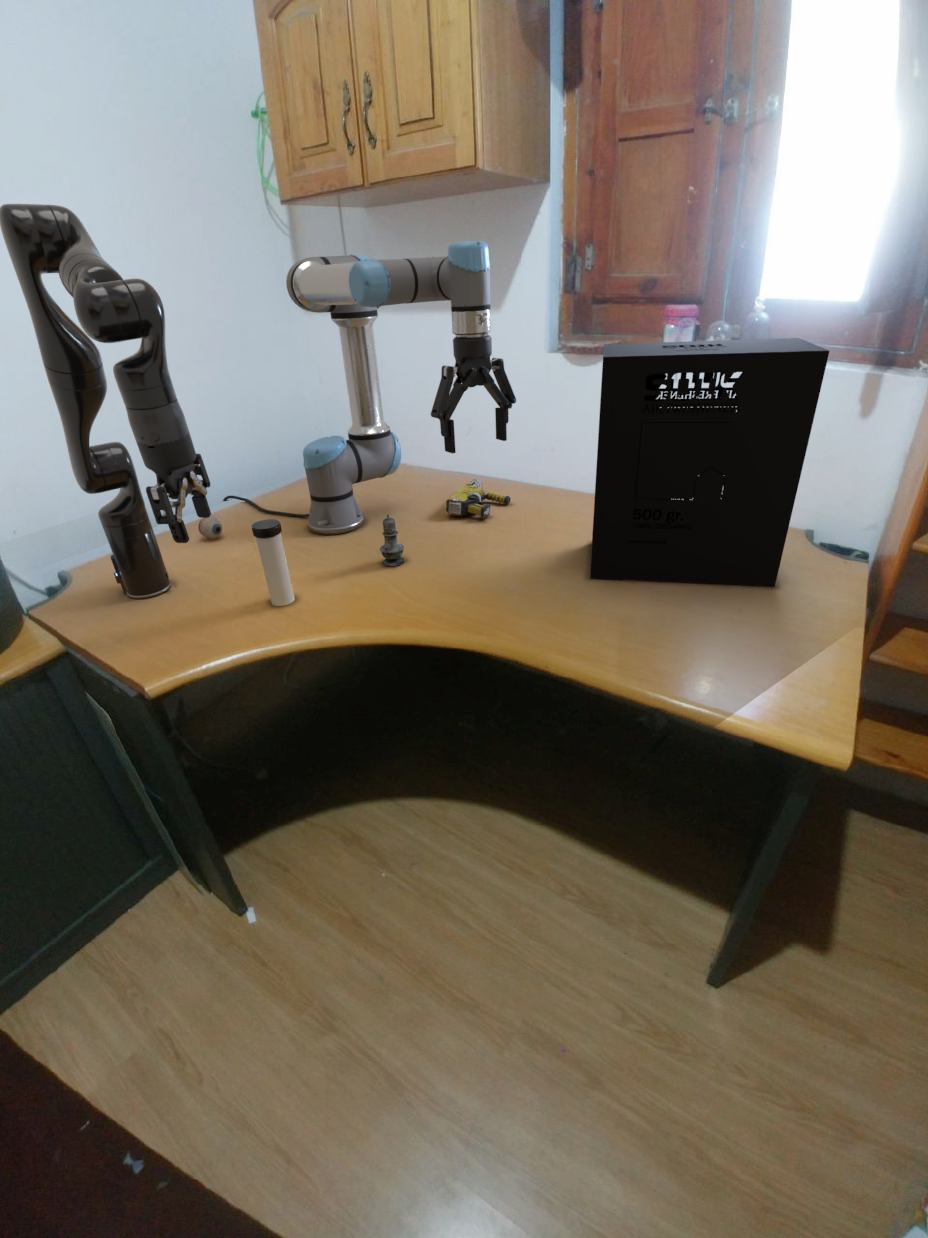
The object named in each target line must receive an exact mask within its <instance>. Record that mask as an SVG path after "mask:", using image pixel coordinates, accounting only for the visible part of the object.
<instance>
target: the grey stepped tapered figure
mask: <svg viewBox="0 0 928 1238" xmlns="http://www.w3.org/2000/svg"><path fill="white" fill-rule="evenodd" d="M382 528H383V529H382V530H383V532H382V536H383V538H384V544H383V545H381V546H380V547H379V551H380V553H381V555H382V557H383V558H384V559H383V560H382V564H383V565H384V566H386V567H396V566H400V565H402V564H404V562H405V558H404V557H402V555H403V553H404V550H405V546H404V544H402V543H400V542H399V541H398V534H399V532H398V531H397V527H396V521H395V519H394V518H393V517H390V515H389V514H386V517H385V518H383V520H382Z"/></svg>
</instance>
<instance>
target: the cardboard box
mask: <svg viewBox="0 0 928 1238" xmlns="http://www.w3.org/2000/svg"><path fill="white" fill-rule="evenodd" d="M829 356H830V350H829V349H827V348H824V347H822V346H819V345H817V344H815V343H813V342H809V341H808V340H804V339H802V338H799V337H787V338H786V337H785V338H756V339H755V338H753V339H751V338H750V339H724V340H691V341H689V340H688V341H661V342H631V343H604V344H603V353H602V368H601V385H600V386H601V387H600V399H599V400H600V402H599V416H598V417H599V419H598V434H597V436H598V437H597V452H596V467H595V468H596V470H595V487H594V502H593V503H594V504H593V521H592V535H591V536H592V538H591V554H590V569H589V571H590V572H589V578H590V579H600V580H625V581H647V582H665V583H666V582H667V583H668V582H669V583H688V584H689V583H691V584H692V583H693V584H714V585H735V586H755V587H756V586H757V587H759V586H760V587H776V583H777V579H778V575H779V572H780V571H779V570H780V566H781V562H782V557H783V553H784V549H785V545H786V541H787V536H788V532H789V528H790V523H791V519H792V514H793V510H794V506H795V502H796V497H797V493H798V489H799V485H800V480H801V475H802V473H803V472H802V471H803V467H804V464H805V457H806V454H807V449H808V446H809V441H810V437H811V433H812V428H813V425H814V419H815V415H816V411H817V407H818V403H819V398H820V395H821V390H822V385H823V381H824V376H825V373H826V368H827V363H828V360H829ZM735 373H740V374H739V376H738V377H733V375H734V374H735ZM676 374H680V378H678V381H677V387H674V386H675V385H674V384H675V378H673V377H674V375H676ZM687 374H692V378H691V384H694V385H693V387H689V385H690V378H687ZM701 374H703V378H700V376H701ZM718 374H719V378H718ZM722 377H723V382H722ZM717 379H718V383H717ZM722 383H723V384H727V383H729V384H731V383H733V384H732V387H731V386H730V387H726V386H725V387H724V386H723V385H722ZM703 384H708V387H702V385H703ZM662 386H665V387H664V388H663V387H662ZM661 387H662V388H661Z"/></svg>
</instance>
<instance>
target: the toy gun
mask: <svg viewBox="0 0 928 1238" xmlns="http://www.w3.org/2000/svg"><path fill="white" fill-rule="evenodd" d="M482 486H483V480H481V479H478V480H477V479H476V478H474V479H472V480H471V481H470V482H469V483H466V484H465V485H463V486H462V487H461V488H460V489H458V490H457V491H456V492H455V493H454V494H452V495H451V496H450V497H449V498H448V499H446V501H445V512H446V513H447V514H450V516H454V517H456V516H467V515H477V516H479V517H480V519H481V520H484V519H486V518H487V517H489V516H490V513H491V504H490V503H485V504H484V502H483V501H485V500H488V501H491V502H496V503H499V504H501V503H502V504H504V505H509V504H510V503H511V497H510V495H503V494H500V493H495V492H492V491H487V493H486V494H485V491H484V490H483V488H481V487H482Z"/></svg>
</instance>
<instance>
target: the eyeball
mask: <svg viewBox="0 0 928 1238" xmlns="http://www.w3.org/2000/svg"><path fill="white" fill-rule="evenodd" d="M197 526H198V527H197V528H198V532H199V533H200V535H201V536H202V537H204V538H206V539H209V540H211V539H212V540H213V539H216V538H218V537H219V536H220V535H221V534H222V533H223V524H222V523H221V521H220V520H219V519H218V518H217V517H215V516H211V515H210V517H208V518H201V519H200V521H199V522H198V525H197Z"/></svg>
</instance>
